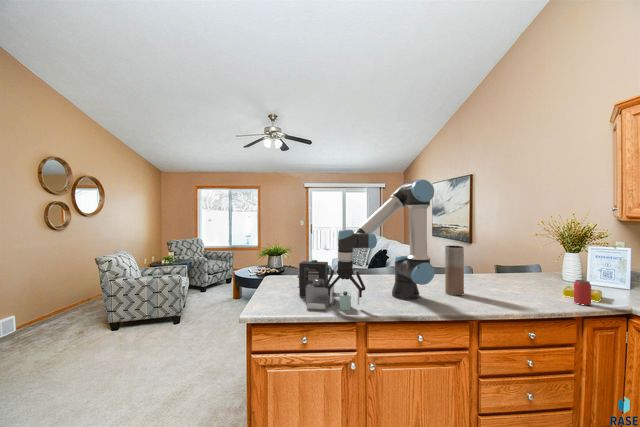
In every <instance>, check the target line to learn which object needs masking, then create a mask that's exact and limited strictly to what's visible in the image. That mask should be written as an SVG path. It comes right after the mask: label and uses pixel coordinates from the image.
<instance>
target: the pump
mask: <svg viewBox="0 0 640 427" xmlns="http://www.w3.org/2000/svg"><path fill="white" fill-rule="evenodd" d="M340 293H341V294H340V297H339V311H351V308H352V293H351V292H348V291H346V290H345V291H343V292H340Z"/></svg>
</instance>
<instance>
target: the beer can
mask: <svg viewBox="0 0 640 427" xmlns="http://www.w3.org/2000/svg"><path fill="white" fill-rule="evenodd" d="M573 286H574V299H573V302H574V303H575V302H576V303H579V304H584V305H590V304H591V305H592V302H591V289H592V285H591V282H590V280H589V281H588V280H585V279H584V280H582V279H575V281H574V283H573ZM576 303H575V304H576ZM591 305H590V306H591Z"/></svg>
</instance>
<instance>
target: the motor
mask: <svg viewBox="0 0 640 427" xmlns="http://www.w3.org/2000/svg"><path fill="white" fill-rule="evenodd" d="M331 284H332V283H330V284H328V286H330V285H331ZM325 285H326V284H324V279H313V283H309V284H308V285H307V286H306V297H305V305H306V310H307V311H308V310H309V311H323V312H324V311H326V309H327V307H328V306H333V305H334V303H335V298H340V294H341V292H335V284H334V285H333V286H332V303H330V296H328V289H327V288H325Z"/></svg>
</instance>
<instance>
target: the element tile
mask: <svg viewBox="0 0 640 427" xmlns="http://www.w3.org/2000/svg"><path fill="white" fill-rule="evenodd" d="M562 292H563V293H562V295H565V296H570V297H574V285H573V286H572V285H568V286H566V287H565V288H563V291H562ZM601 297H602V298H603V291H602V290H600V289H593V288H591V300H595V301H599V300H600V299H601ZM601 300H602V299H601Z"/></svg>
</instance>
